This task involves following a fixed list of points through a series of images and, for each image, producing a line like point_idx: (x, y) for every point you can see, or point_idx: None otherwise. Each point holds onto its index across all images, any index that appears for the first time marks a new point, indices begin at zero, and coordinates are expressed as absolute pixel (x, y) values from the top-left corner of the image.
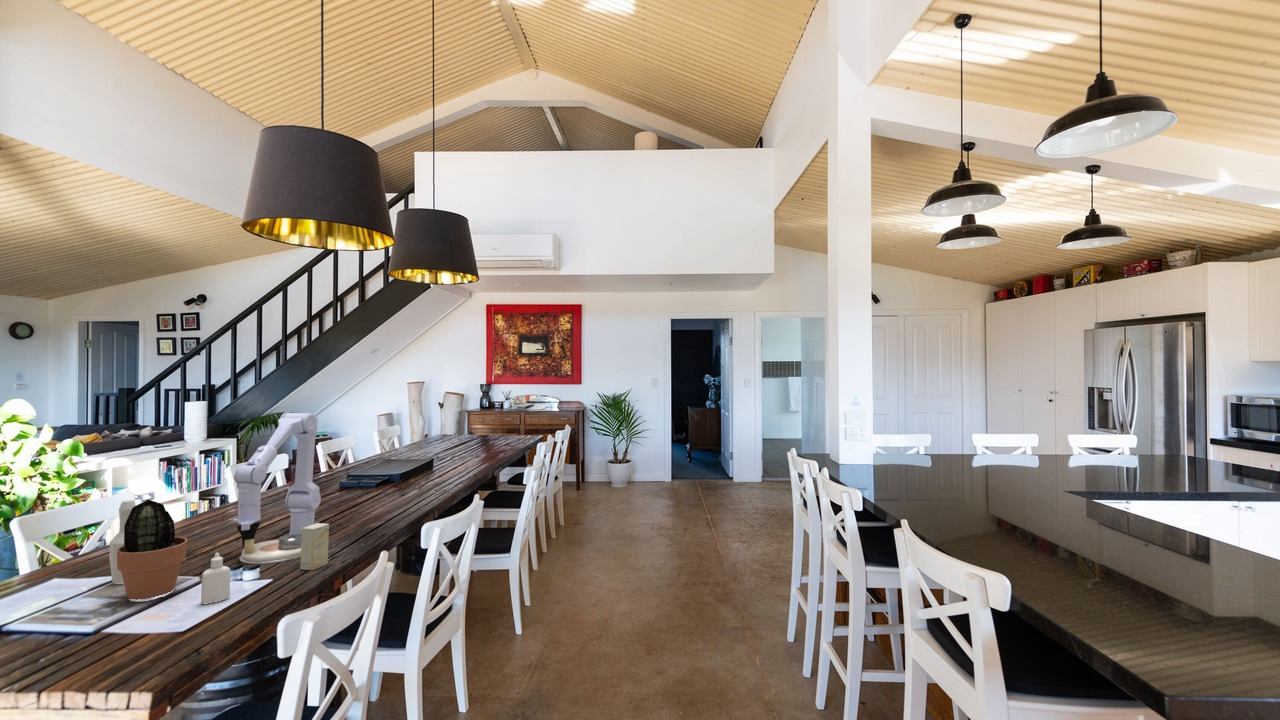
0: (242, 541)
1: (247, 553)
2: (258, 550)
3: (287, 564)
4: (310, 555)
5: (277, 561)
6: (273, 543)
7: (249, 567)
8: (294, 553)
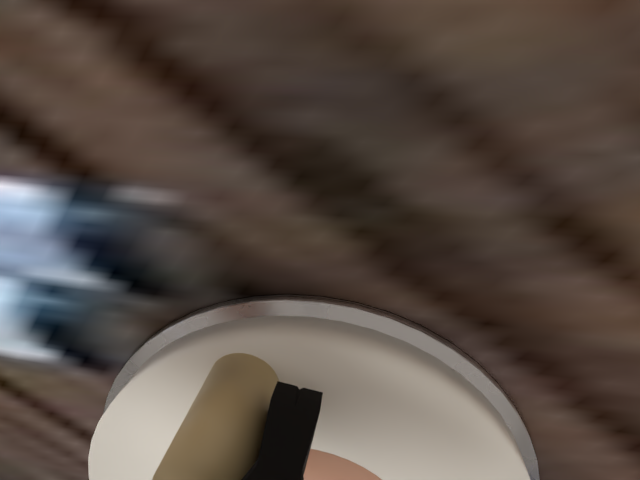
0: (263, 433)
1: (210, 371)
2: None
3: (54, 465)
4: None
5: None
6: None
7: (79, 318)
8: None
